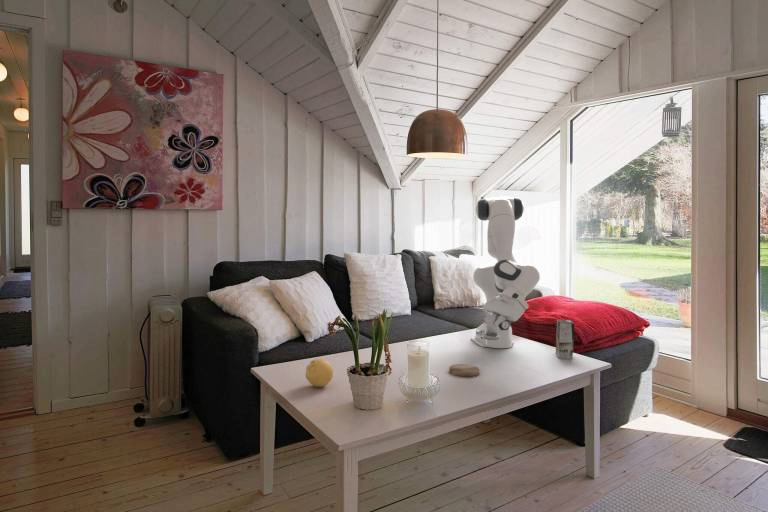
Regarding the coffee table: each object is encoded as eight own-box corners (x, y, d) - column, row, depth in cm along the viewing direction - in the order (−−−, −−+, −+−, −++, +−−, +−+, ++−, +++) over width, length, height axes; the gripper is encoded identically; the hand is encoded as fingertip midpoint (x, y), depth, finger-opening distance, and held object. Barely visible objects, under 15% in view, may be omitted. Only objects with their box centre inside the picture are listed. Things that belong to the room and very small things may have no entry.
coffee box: (573, 359, 226) (575, 323, 224) (557, 358, 227) (559, 322, 225) (569, 353, 234) (571, 319, 233) (555, 352, 236) (556, 318, 234)
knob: (480, 336, 207) (480, 312, 206) (493, 335, 209) (494, 311, 209) (489, 340, 201) (490, 315, 200) (502, 339, 203) (503, 314, 203)
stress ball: (334, 386, 187) (321, 364, 192) (341, 371, 181) (327, 349, 186) (310, 395, 182) (298, 373, 186) (317, 381, 175) (303, 358, 180)
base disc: (443, 369, 207) (443, 365, 207) (469, 366, 212) (469, 363, 212) (459, 378, 196) (459, 374, 196) (485, 375, 201) (485, 371, 200)
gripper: (492, 289, 216) (471, 313, 213) (522, 296, 197) (501, 323, 194) (500, 299, 218) (480, 323, 215) (531, 307, 199) (510, 333, 196)
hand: (490, 323), depth 204 cm, fingers closed on knob, 4 cm apart
